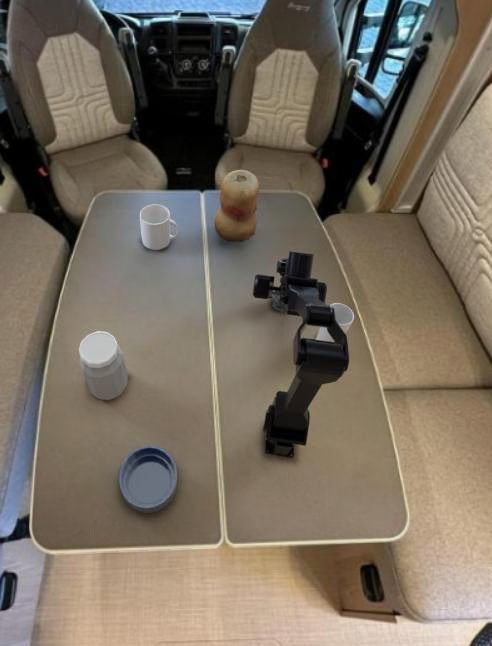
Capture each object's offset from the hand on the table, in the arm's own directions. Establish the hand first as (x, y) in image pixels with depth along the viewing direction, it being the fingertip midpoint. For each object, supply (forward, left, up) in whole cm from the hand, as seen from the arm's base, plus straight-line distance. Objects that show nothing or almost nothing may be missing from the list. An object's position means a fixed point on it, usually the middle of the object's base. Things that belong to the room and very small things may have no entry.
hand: (284, 286), depth 118 cm
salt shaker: (-1, 0, -7) cm, 7 cm away
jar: (-33, +43, -7) cm, 55 cm away
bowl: (-54, +28, -7) cm, 62 cm away
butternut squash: (+25, +16, -7) cm, 30 cm away
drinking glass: (-13, -12, -7) cm, 19 cm away
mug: (+19, +40, -7) cm, 45 cm away
